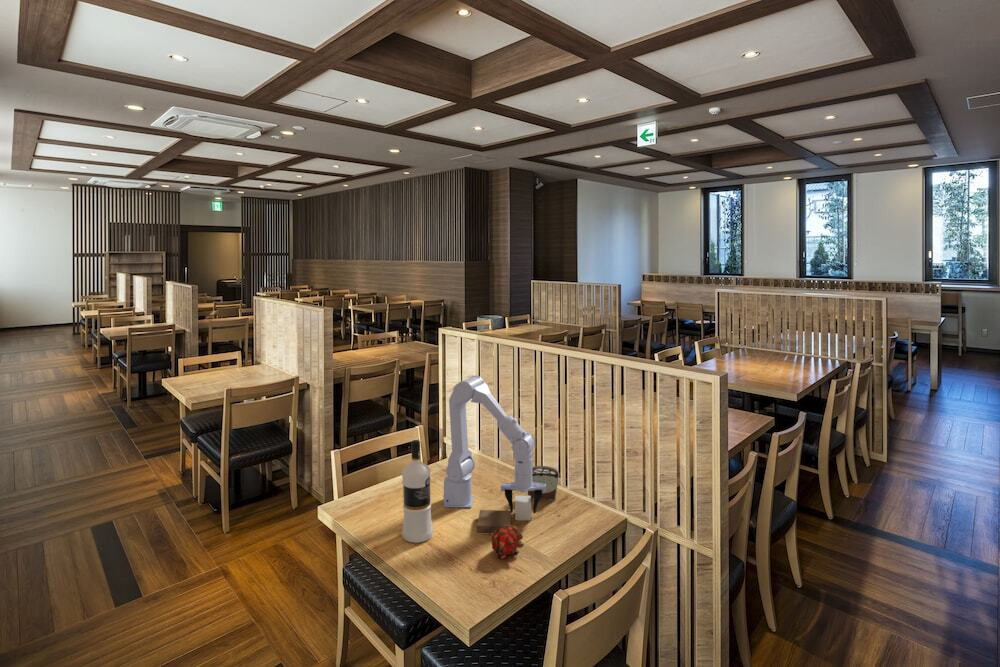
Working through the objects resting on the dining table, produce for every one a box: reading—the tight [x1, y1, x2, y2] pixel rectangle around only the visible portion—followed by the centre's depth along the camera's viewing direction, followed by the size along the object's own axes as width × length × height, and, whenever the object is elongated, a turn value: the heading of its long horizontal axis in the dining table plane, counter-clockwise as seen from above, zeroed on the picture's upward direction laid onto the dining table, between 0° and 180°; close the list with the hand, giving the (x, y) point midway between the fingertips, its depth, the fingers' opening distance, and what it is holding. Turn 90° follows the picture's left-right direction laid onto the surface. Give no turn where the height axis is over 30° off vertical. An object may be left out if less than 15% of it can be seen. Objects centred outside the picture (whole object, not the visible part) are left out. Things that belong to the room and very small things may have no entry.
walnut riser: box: [476, 509, 512, 535], centre depth 168 cm, size 10×10×3 cm
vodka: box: [401, 439, 434, 544], centre depth 160 cm, size 9×9×30 cm
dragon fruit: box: [491, 524, 525, 560], centre depth 152 cm, size 8×8×12 cm
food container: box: [527, 465, 561, 501], centre depth 188 cm, size 12×6×10 cm, turn 84°
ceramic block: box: [514, 495, 532, 521], centre depth 174 cm, size 5×5×6 cm
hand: (523, 511), depth 174 cm, fingers open, 7 cm apart
